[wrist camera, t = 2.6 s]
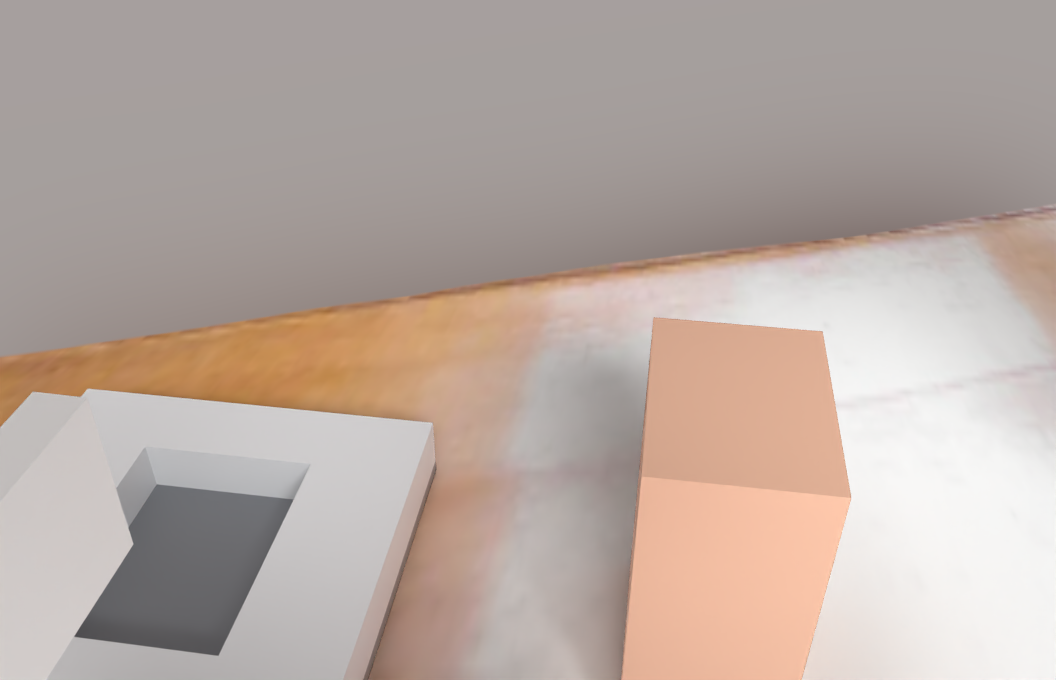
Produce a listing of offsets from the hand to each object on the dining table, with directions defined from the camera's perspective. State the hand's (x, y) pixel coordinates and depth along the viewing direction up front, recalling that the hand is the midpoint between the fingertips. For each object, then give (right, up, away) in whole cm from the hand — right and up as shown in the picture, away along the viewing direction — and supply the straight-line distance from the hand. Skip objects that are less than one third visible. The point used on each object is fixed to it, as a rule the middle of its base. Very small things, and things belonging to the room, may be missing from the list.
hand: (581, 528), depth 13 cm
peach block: (+5, -8, +20) cm, 22 cm away
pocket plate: (-13, -6, +22) cm, 26 cm away
